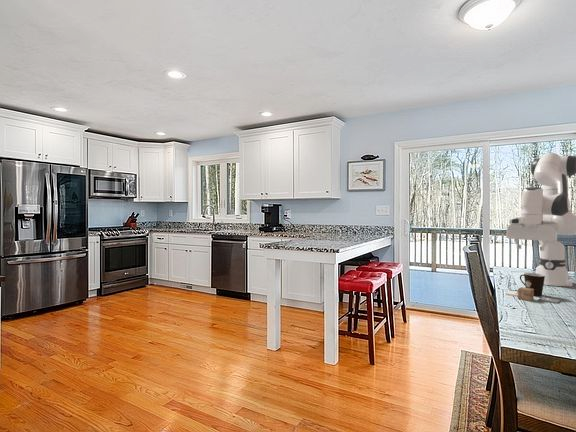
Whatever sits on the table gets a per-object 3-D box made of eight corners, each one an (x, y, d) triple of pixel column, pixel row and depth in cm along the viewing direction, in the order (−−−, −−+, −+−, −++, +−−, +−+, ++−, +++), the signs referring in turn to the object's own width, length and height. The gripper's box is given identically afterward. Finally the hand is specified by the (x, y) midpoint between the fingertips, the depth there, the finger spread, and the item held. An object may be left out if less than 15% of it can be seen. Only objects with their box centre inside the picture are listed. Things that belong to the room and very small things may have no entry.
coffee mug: (548, 297, 172) (548, 276, 171) (528, 296, 173) (528, 275, 173) (536, 291, 183) (536, 272, 183) (517, 290, 185) (518, 271, 184)
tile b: (510, 292, 181) (510, 291, 181) (526, 295, 176) (527, 293, 176) (506, 294, 176) (506, 293, 176) (522, 297, 171) (522, 296, 171)
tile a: (542, 297, 170) (542, 296, 170) (560, 300, 165) (560, 299, 165) (538, 300, 166) (538, 299, 166) (556, 303, 160) (556, 302, 160)
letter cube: (521, 297, 171) (521, 287, 171) (533, 299, 168) (533, 288, 167) (517, 299, 168) (518, 288, 168) (530, 301, 164) (530, 290, 164)
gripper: (559, 221, 165) (558, 251, 165) (510, 220, 180) (508, 247, 180) (556, 221, 160) (555, 252, 160) (505, 219, 176) (504, 247, 176)
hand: (530, 249), depth 170 cm, fingers open, 8 cm apart
